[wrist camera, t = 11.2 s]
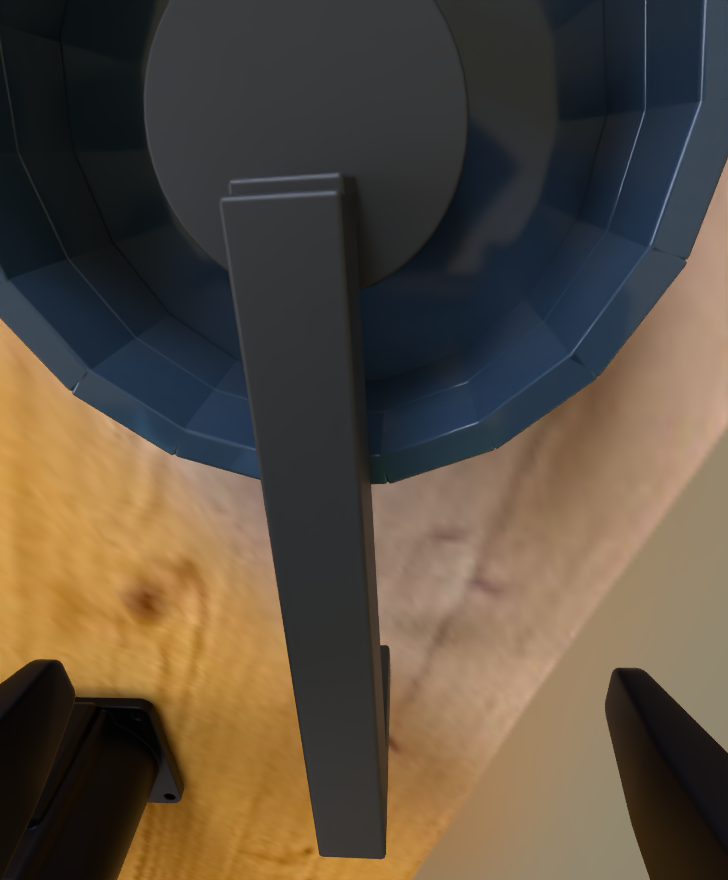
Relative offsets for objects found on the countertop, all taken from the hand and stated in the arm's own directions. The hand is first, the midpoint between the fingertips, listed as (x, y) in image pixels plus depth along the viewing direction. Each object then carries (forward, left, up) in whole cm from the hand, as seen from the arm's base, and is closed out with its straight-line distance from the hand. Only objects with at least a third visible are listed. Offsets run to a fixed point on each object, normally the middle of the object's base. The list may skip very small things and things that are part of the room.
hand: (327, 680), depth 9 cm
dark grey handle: (+1, 0, -7) cm, 7 cm away
